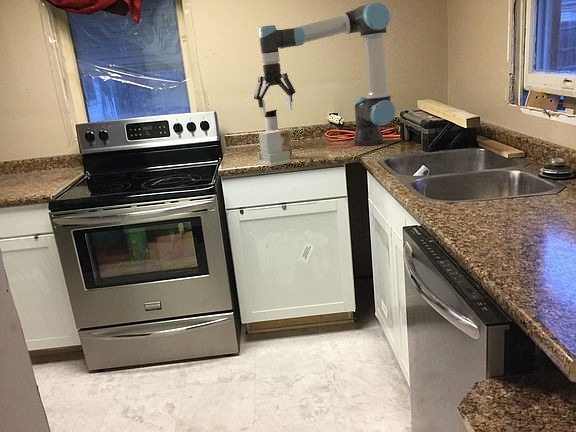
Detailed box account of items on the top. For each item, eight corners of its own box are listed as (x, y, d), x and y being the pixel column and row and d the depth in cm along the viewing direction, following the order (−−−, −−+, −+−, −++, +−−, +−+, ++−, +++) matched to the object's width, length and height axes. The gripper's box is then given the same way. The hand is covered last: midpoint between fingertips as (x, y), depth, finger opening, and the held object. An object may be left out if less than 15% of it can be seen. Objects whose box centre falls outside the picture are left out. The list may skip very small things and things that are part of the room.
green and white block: (277, 159, 242) (276, 148, 240) (290, 162, 232) (289, 151, 230) (258, 163, 237) (257, 152, 235) (270, 166, 227) (269, 155, 225)
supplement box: (283, 159, 233) (280, 131, 229) (269, 162, 229) (266, 133, 226) (275, 157, 239) (272, 130, 235) (261, 160, 235) (258, 132, 232)
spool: (289, 155, 250) (287, 128, 246) (299, 157, 242) (297, 129, 238) (273, 158, 246) (270, 130, 242) (283, 160, 238) (280, 132, 234)
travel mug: (278, 148, 270) (275, 110, 264) (266, 149, 271) (262, 111, 266) (281, 146, 276) (277, 108, 270) (269, 147, 277) (265, 109, 272)
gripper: (290, 60, 234) (295, 108, 241) (242, 66, 223) (248, 116, 229) (299, 59, 228) (304, 108, 234) (250, 66, 216) (256, 117, 223)
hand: (277, 112), depth 232 cm, fingers open, 13 cm apart
